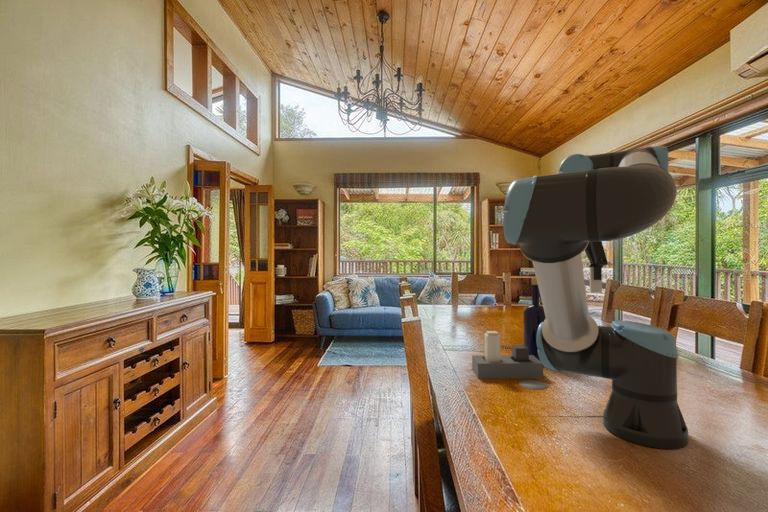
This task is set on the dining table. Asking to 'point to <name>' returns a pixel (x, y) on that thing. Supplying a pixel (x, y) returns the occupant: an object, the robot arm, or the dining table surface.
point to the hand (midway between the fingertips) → (582, 290)
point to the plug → (492, 346)
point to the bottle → (533, 320)
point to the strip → (509, 365)
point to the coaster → (533, 384)
